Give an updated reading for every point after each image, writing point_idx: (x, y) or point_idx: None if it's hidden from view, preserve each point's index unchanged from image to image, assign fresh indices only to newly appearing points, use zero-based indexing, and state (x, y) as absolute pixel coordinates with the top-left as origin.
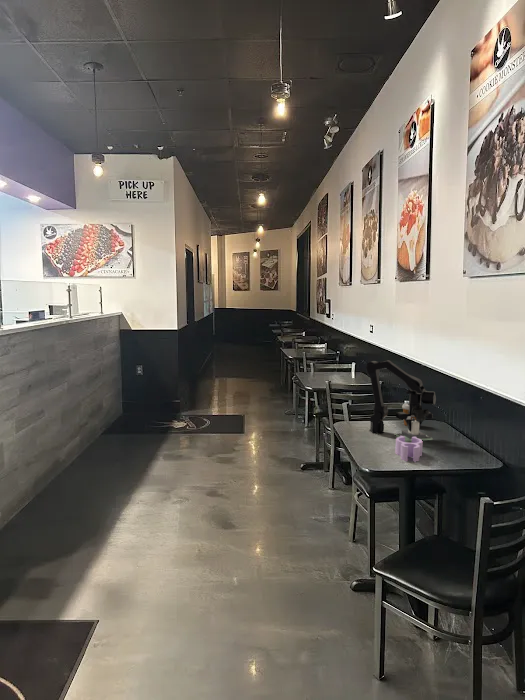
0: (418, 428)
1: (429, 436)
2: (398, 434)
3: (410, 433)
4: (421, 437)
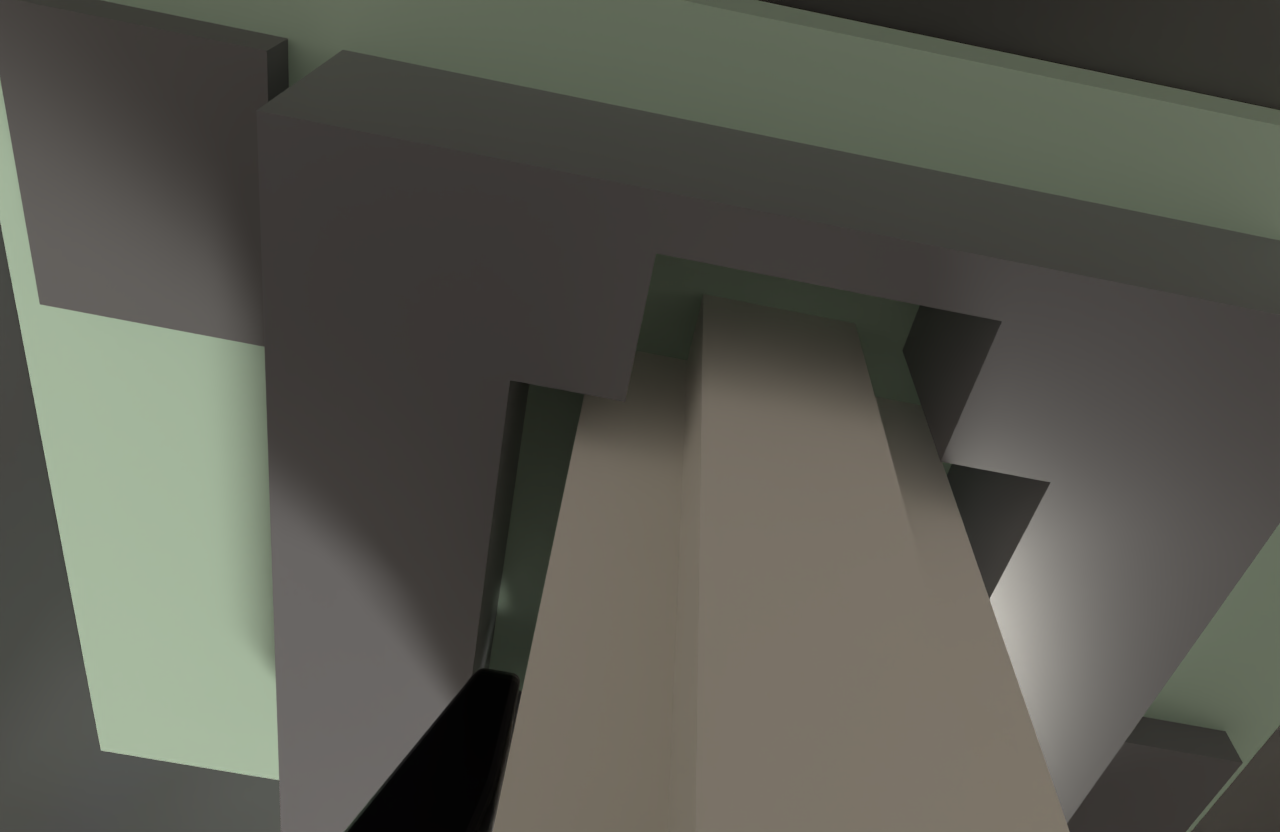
0: (578, 708)
1: (16, 155)
2: (1196, 815)
3: (1012, 607)
4: (609, 120)
